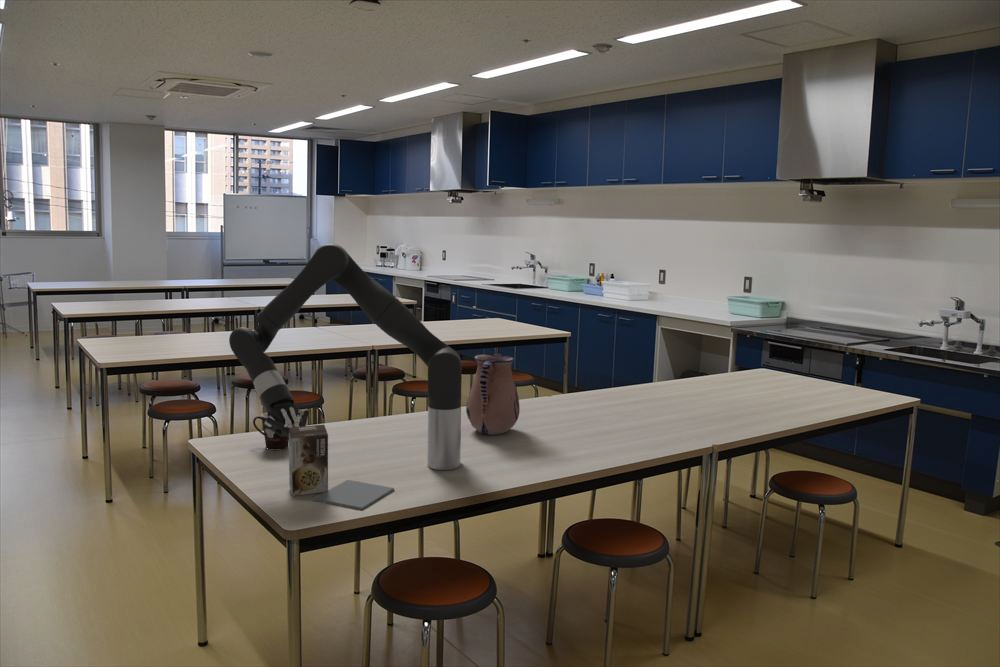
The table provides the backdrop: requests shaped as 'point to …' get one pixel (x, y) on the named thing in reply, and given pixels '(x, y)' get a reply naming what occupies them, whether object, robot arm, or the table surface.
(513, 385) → the ceramic pitcher
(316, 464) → the coffee box
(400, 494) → the table surface
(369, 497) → the mat
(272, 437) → the coffee mug
